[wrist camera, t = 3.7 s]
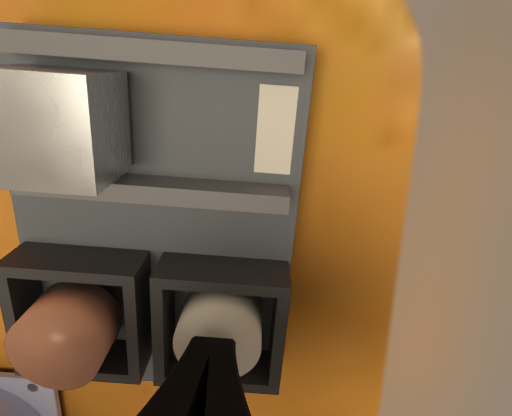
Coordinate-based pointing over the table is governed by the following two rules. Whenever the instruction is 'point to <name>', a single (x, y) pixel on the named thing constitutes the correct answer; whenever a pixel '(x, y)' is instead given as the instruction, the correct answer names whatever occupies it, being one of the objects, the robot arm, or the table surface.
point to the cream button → (222, 324)
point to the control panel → (173, 190)
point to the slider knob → (63, 128)
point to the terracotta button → (64, 335)
